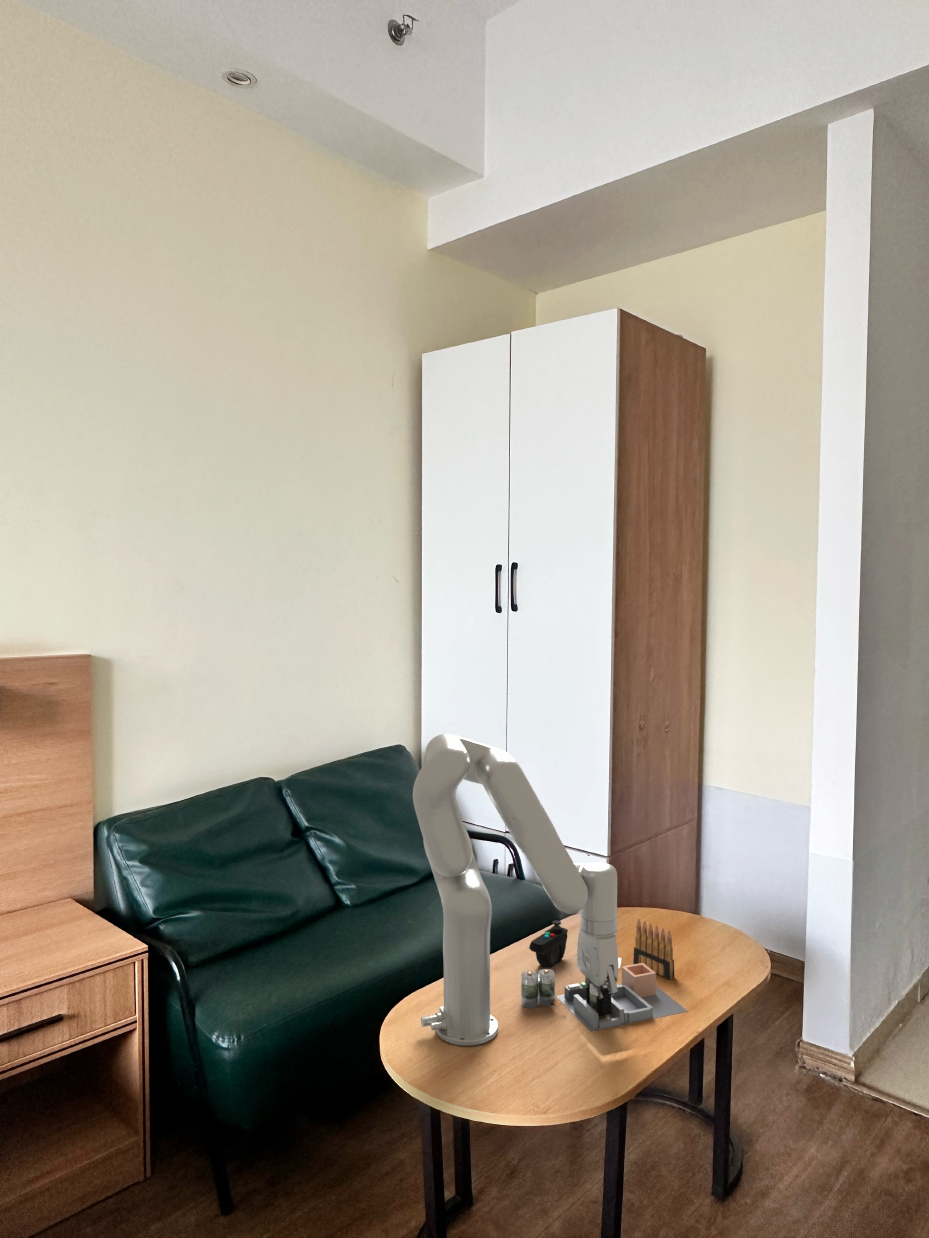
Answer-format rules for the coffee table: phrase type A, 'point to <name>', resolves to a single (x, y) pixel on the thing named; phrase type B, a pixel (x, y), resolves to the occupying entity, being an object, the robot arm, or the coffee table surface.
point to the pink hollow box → (639, 979)
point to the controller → (550, 945)
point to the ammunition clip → (654, 950)
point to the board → (619, 1006)
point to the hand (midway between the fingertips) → (598, 1008)
